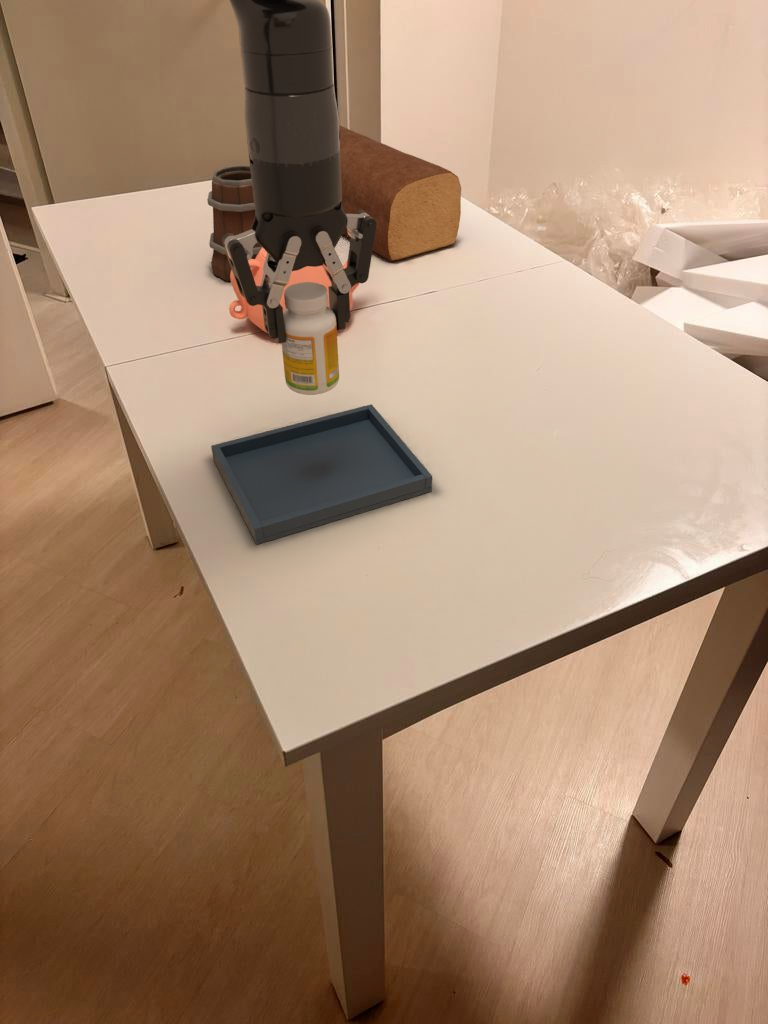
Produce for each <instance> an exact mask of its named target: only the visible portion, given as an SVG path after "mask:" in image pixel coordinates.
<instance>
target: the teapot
mask: <svg viewBox="0 0 768 1024" xmlns="http://www.w3.org/2000/svg"><path fill="white" fill-rule="evenodd" d="M266 255H267V252H266V251H265V250H264V248H263V247H262V249H261V250H260V252H259V253H258V255H257V256H256V258H255V259H250V260H248V262H249V265H250V267H251V268H250V269H251V272H252V275H253V278H254V281H255V284H256V286H260V285H261V281H262V278H263V274H264V271H263V266H264V262H265V259H266ZM347 261H348V259H347V260H346V261H345V263H344V264H343V267H344V269H345V268H347ZM230 279H231V281H230V284H231V286H232V289H233V292H234V293H235V296H236V300H233V301H232V302H231V303H230V304H229V307H228V311H229V314H230V317H232V318H234V319H237V320H244V319H246V318H248V319H249V320H250V322H251V323H253V324H254V325H255V326H256V327H258V328H259V329H260V330H261V331H263V332H265V333H266V334H268V333H267V331H266V330H265V326H264V317H263V309H262V305H258V304H257V305H255V306H251V305H249V304H248V303H247V301H246V299H245V298H244V297H243V296H242V295H241V293H240V292H239V289H238V286H237V283H236V280H235V277H234V275H233V272H232V270H231V273H230ZM303 282H313V283H318V284H321V285H323V286H325V287H326V289H327V295H328V305H327V307H329V308H330V306H329V289H328V287H329V286H332V284H331V282H330V280H329V278H328V276H327V274H326V272H325V270H324V268H323V267H322V266H317V267H312V266H306V267H304V268H302V269H300V270H296V271H292V272H291V275H290V278H289V282H288V284H287V285H286V286H285V287H284V290H283V293H282V297H281V300H280V303H279V304H280V305H281V306H282V307H283V311H284V310H285V309H287V308H286V306H285V299H284V291H285V289H286V288H288V287H289V286H291V285H293V284H297V283H303ZM359 285H360V283H357V284H356V285H354V286H353V287H352V288H351V289H350V292H349V299H350V312H351V311H352V308H353V305H354V298H353V293H354V291H356V289H357V288H359V287H358V286H359ZM239 306H240V308H241V309H240V310H236V307H239Z"/></svg>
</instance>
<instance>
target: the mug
mask: <svg viewBox="0 0 768 1024" xmlns="http://www.w3.org/2000/svg"><path fill="white" fill-rule="evenodd" d="M207 205H208V206H210V207H212V223H213V225H212V226H213V232H212V233H210V237H209V243H208V244H209V248H210V249H212V255H211V256H212V257H211V262H210V263H211V270H212V274H213V275H215V276H217V277H218V278H220V279H222V280H224V281H226V282H227V281H228V282H231V279H230V273H231V270H232V269H231V266H230V263H229V260H228V257H227V254H226V251H225V249H224V246H223V243H222V238H223V236H224V235H225V234H227V233H231V234H233V235H234V236H235V235H238V234H241V233H243V232H246V231H249V230H251V229H252V225H253V222H254V219H255V206H254V197H253V188H252V179H251V170H250V165H233V166H225V167H222V168H220V169H218V170H215V171H214V172H213V175H212V179H211V191H208V195H207ZM261 249H262V246H261V245H260V244H259V243H256V244H255V245H254V247H253V256H252V258H251V259H255V258H256V256H257V255H258V253H259V252H260V250H261ZM250 268H251V267H250Z"/></svg>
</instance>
